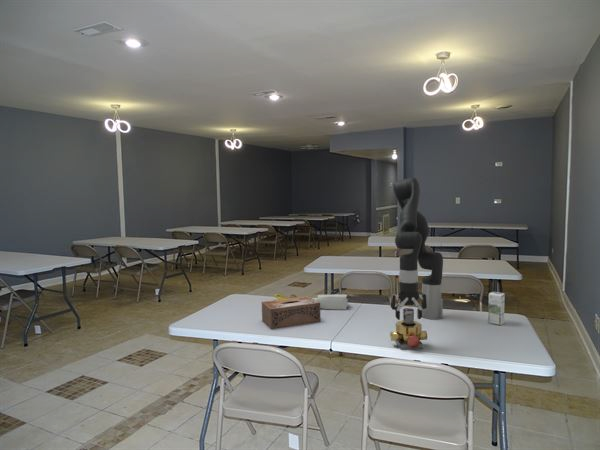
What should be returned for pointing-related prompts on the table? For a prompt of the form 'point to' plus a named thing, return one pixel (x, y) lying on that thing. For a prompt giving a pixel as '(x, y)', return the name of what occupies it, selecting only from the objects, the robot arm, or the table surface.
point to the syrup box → (496, 308)
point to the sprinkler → (284, 296)
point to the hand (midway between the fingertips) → (408, 319)
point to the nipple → (408, 317)
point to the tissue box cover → (290, 312)
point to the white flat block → (333, 301)
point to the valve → (408, 336)
